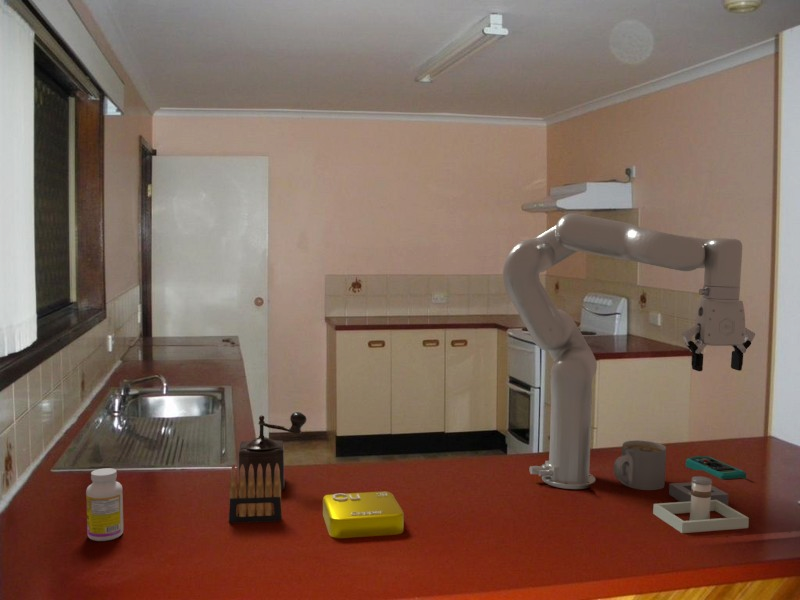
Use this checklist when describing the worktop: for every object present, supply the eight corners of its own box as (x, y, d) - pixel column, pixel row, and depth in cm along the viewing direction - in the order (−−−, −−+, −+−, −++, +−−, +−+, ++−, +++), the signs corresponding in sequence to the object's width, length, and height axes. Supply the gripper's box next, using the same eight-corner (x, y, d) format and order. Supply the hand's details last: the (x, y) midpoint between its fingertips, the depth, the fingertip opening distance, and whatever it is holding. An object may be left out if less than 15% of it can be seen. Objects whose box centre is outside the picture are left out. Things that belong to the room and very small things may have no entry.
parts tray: (681, 537, 163) (682, 522, 163) (652, 518, 174) (653, 503, 173) (748, 532, 166) (748, 517, 166) (715, 513, 177) (716, 499, 177)
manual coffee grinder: (237, 494, 185) (237, 416, 183) (239, 478, 196) (239, 404, 194) (306, 491, 187) (307, 414, 185) (304, 476, 198) (305, 403, 196)
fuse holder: (691, 512, 177) (692, 495, 177) (668, 498, 186) (669, 482, 186) (727, 509, 179) (728, 493, 179) (704, 496, 188) (704, 480, 188)
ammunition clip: (281, 517, 171) (281, 461, 169) (281, 521, 169) (281, 464, 168) (229, 519, 169) (229, 463, 168) (228, 523, 167) (228, 465, 166)
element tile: (330, 541, 160) (330, 517, 159) (321, 513, 174) (321, 491, 174) (405, 536, 163) (406, 512, 162) (390, 509, 177) (391, 488, 177)
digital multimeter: (707, 465, 214) (708, 454, 214) (747, 482, 200) (747, 471, 199) (683, 467, 212) (684, 456, 211) (722, 485, 198) (722, 473, 197)
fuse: (696, 526, 168) (698, 482, 167) (685, 519, 171) (688, 476, 170) (713, 525, 168) (715, 481, 168) (702, 518, 172) (704, 475, 171)
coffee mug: (649, 479, 200) (651, 439, 199) (672, 492, 190) (675, 450, 189) (600, 483, 197) (601, 442, 196) (621, 496, 187) (623, 453, 186)
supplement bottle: (95, 528, 163) (94, 465, 162) (128, 529, 163) (127, 466, 161) (81, 542, 156) (79, 476, 155) (115, 542, 156) (114, 477, 155)
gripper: (695, 295, 177) (690, 373, 178) (766, 295, 180) (761, 372, 182) (676, 292, 184) (672, 367, 186) (745, 292, 187) (741, 366, 189)
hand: (716, 369), depth 184 cm, fingers open, 9 cm apart
